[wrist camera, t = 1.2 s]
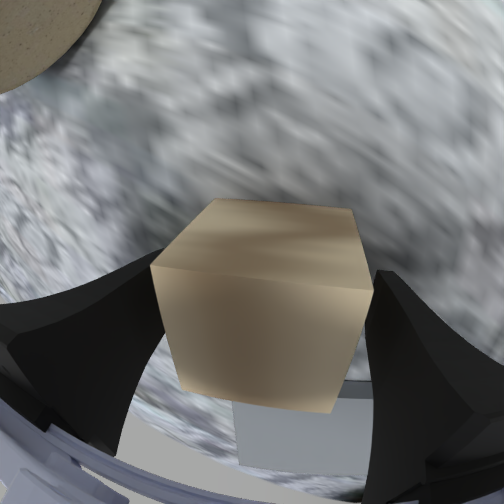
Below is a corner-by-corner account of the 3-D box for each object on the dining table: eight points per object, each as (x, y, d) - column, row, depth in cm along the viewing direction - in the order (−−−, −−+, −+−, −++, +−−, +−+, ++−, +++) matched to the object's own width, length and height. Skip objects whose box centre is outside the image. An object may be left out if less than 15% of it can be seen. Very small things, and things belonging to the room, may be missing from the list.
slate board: (484, 377, 12) (489, 391, 11) (405, 462, 19) (405, 472, 18) (235, 368, 15) (230, 384, 14) (242, 454, 22) (239, 465, 21)
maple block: (351, 208, 10) (373, 290, 6) (332, 316, 12) (330, 413, 8) (216, 197, 11) (150, 264, 6) (222, 303, 13) (181, 389, 9)
